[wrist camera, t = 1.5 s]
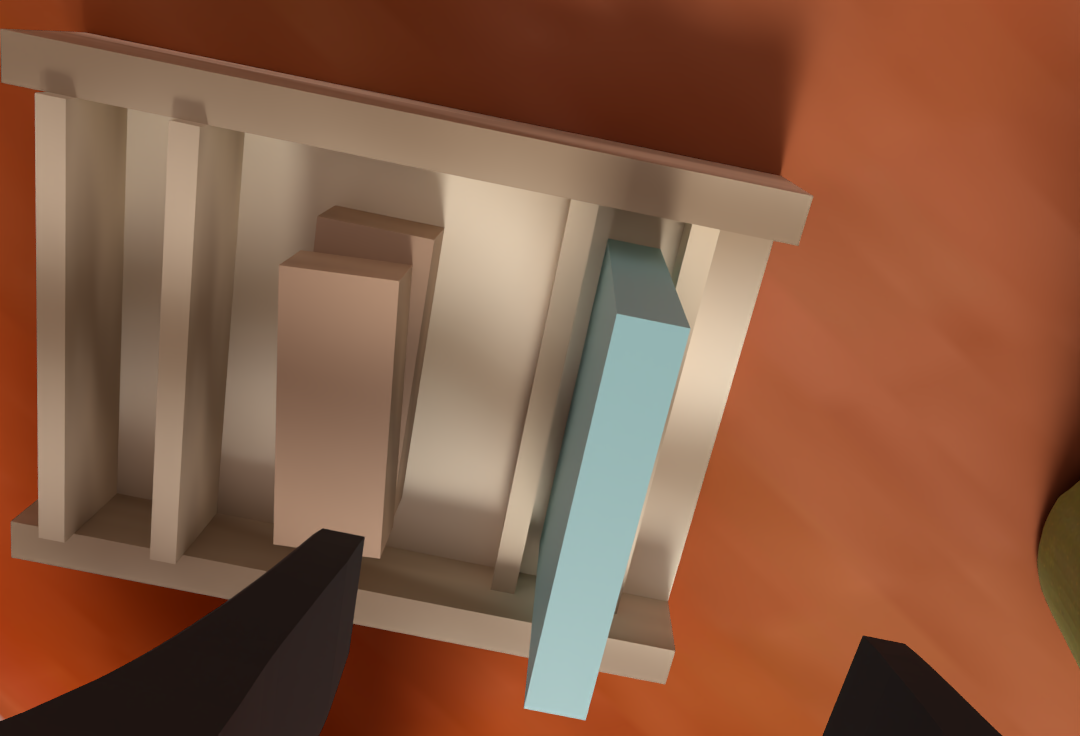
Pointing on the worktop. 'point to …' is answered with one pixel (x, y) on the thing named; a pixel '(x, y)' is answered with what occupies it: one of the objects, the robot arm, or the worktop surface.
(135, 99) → the rack
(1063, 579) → the plant pot
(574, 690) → the teal rectangular plate
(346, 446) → the offcut upper
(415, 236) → the offcut lower
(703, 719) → the worktop surface
